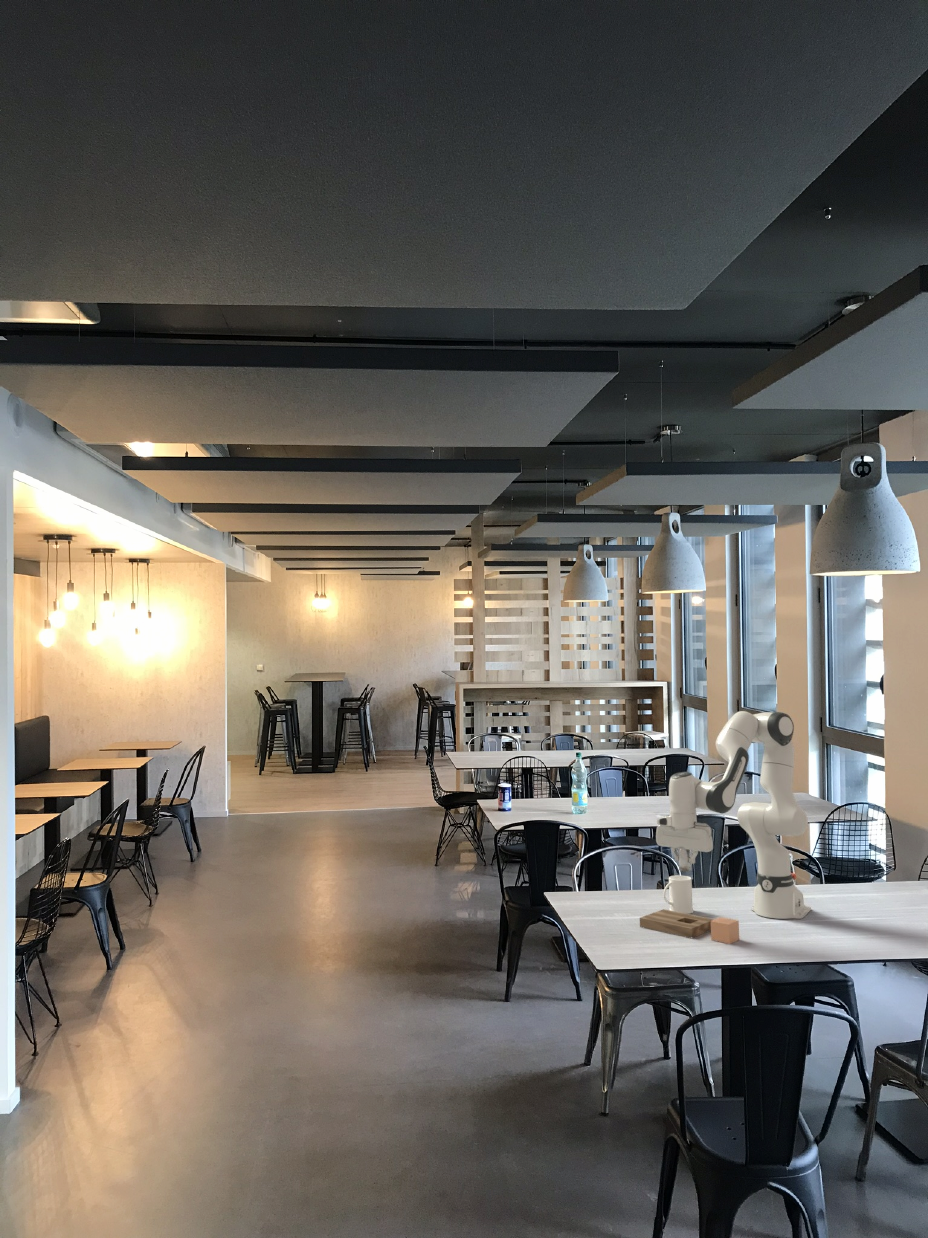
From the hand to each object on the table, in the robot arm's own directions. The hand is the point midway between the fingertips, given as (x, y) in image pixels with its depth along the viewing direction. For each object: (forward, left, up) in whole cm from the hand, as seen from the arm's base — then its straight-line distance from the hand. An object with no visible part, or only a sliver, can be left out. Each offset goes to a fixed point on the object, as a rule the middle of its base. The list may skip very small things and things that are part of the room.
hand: (684, 862), depth 289 cm
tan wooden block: (+2, +15, -22) cm, 27 cm away
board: (0, -4, -22) cm, 23 cm away
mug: (-18, -15, -23) cm, 33 cm away
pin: (0, 0, -3) cm, 3 cm away
